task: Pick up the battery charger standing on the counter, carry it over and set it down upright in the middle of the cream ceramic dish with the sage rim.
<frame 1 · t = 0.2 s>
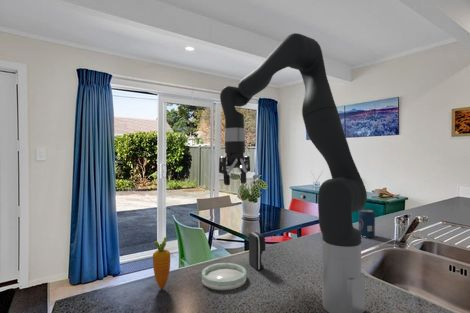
hand: (235, 184, 106), 28 cm above the counter, tool pointing down, fingers open, 8 cm apart
carrot: (162, 289, 83), on the counter
dish: (224, 279, 89), on the counter
battery charger: (257, 266, 99), on the counter
soda can: (366, 236, 133), on the counter
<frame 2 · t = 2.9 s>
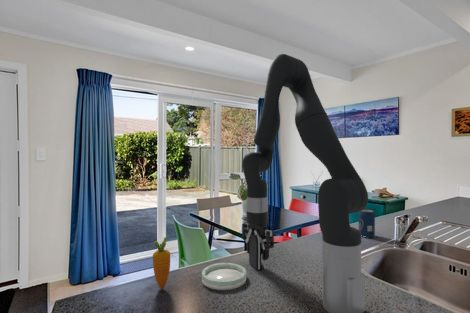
hand: (257, 256, 99), 3 cm above the counter, tool pointing down, fingers closed on battery charger, 7 cm apart
battery charger: (257, 266, 99), on the counter, touching gripper
everything else where it was.
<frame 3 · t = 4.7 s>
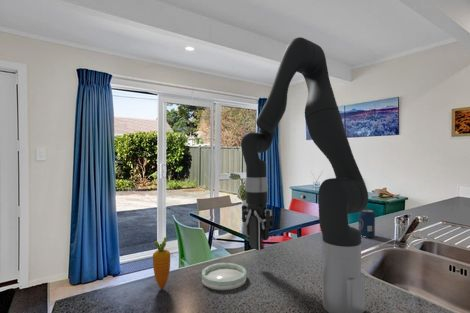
hand: (257, 237, 99), 10 cm above the counter, tool pointing down, fingers closed on battery charger, 7 cm apart
battery charger: (257, 248, 98), point 7 cm above the counter, touching gripper
everything else where it was.
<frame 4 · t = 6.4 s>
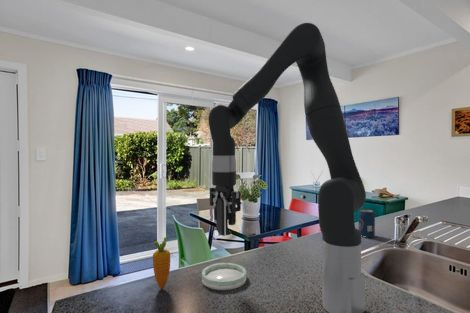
hand: (224, 222, 89), 18 cm above the counter, tool pointing down, fingers closed on battery charger, 7 cm apart
battery charger: (225, 233, 89), point 14 cm above the counter, touching gripper
everything else where it was.
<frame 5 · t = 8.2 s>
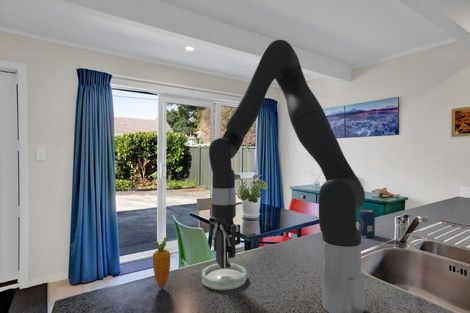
hand: (224, 253, 89), 8 cm above the counter, tool pointing down, fingers closed on battery charger, 7 cm apart
battery charger: (224, 265, 89), point 4 cm above the counter, touching gripper
everything else where it was.
when the fingers open (6 cm above the counter, at t = 9.7 s): battery charger drops 2 cm, resting on dish.
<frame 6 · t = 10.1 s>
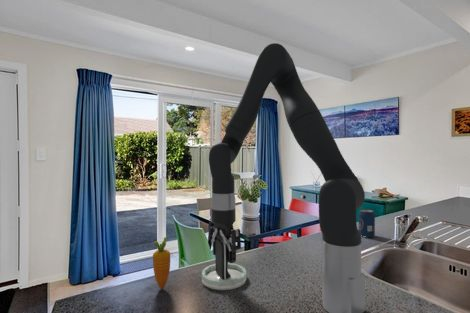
hand: (223, 258, 89), 7 cm above the counter, tool pointing down, fingers open, 8 cm apart
battery charger: (224, 275, 89), point 1 cm above the counter, touching dish
everything else where it was.
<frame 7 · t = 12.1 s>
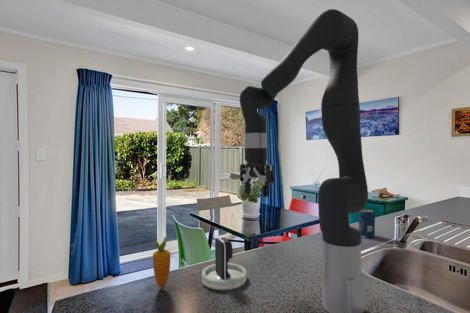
hand: (256, 195, 95), 25 cm above the counter, tool pointing down, fingers open, 8 cm apart
nothing on the counter moved.
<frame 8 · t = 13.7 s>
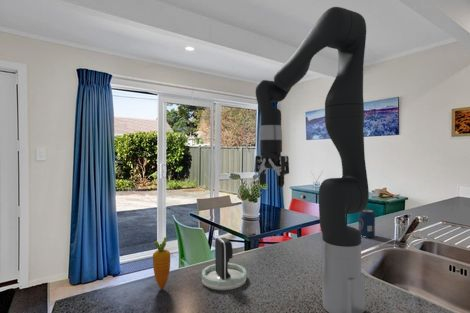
hand: (271, 185, 99), 28 cm above the counter, tool pointing down, fingers open, 8 cm apart
nothing on the counter moved.
at the end: battery charger inside the target area on the dish (0.2 cm from its centre), point 1.0 cm above the dish's base; battery charger tilted 0°; the gripper is holding nothing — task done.
